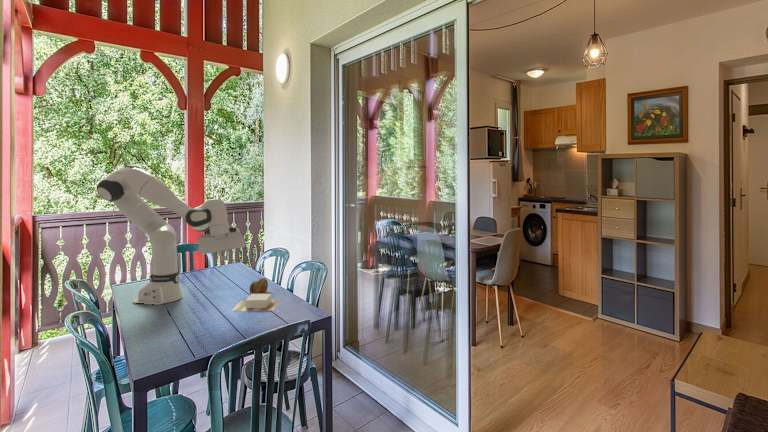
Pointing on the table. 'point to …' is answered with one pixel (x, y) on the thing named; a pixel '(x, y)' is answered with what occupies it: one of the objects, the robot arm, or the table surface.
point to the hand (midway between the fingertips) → (224, 260)
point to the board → (242, 307)
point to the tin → (259, 286)
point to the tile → (258, 301)
